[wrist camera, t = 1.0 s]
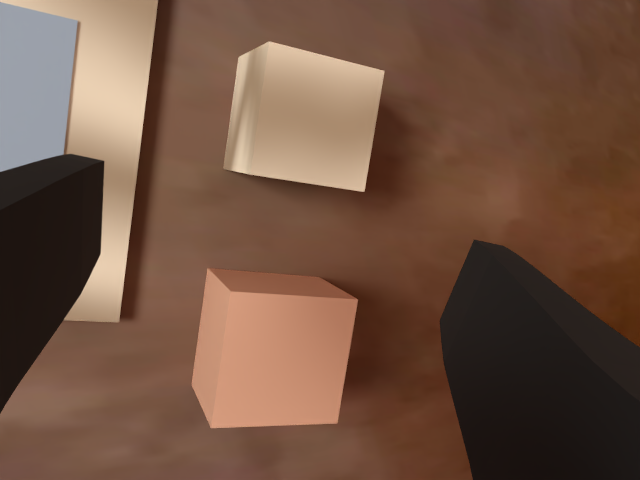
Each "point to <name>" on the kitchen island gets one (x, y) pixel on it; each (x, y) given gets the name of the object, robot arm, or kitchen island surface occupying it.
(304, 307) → the terracotta base block
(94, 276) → the baseboard
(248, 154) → the maple cap block
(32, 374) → the kitchen island surface
